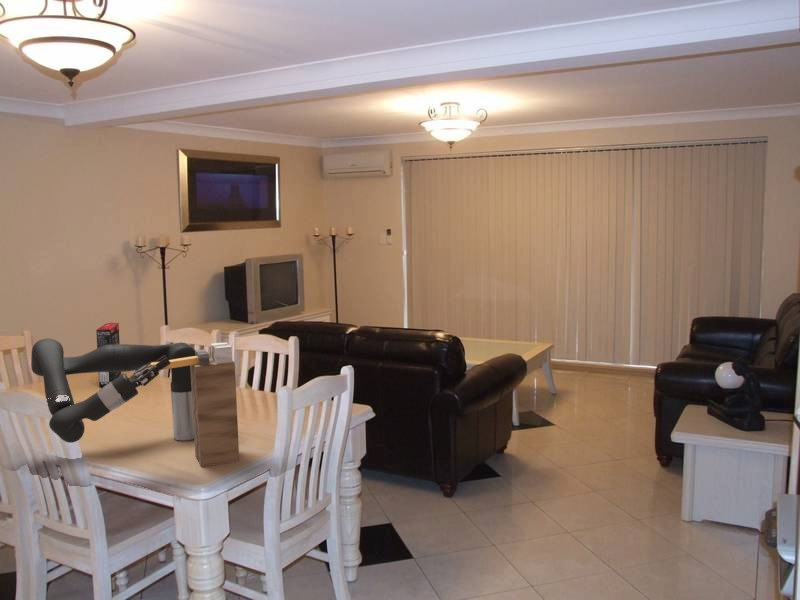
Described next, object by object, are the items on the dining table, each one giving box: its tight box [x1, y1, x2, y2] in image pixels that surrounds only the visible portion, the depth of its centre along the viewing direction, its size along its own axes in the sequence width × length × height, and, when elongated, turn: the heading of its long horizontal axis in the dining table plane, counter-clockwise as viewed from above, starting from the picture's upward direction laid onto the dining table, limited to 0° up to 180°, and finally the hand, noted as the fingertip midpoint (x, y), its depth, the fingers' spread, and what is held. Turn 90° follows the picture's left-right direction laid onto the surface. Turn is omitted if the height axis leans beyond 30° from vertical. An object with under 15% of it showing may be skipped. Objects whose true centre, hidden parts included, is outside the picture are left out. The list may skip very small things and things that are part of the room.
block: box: [151, 356, 199, 371], centre depth 216 cm, size 3×14×2 cm, turn 116°
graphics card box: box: [95, 322, 122, 388], centre depth 322 cm, size 17×7×27 cm, turn 10°
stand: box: [190, 342, 240, 468], centre depth 223 cm, size 10×12×37 cm
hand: (167, 359), depth 215 cm, fingers closed on block, 3 cm apart
